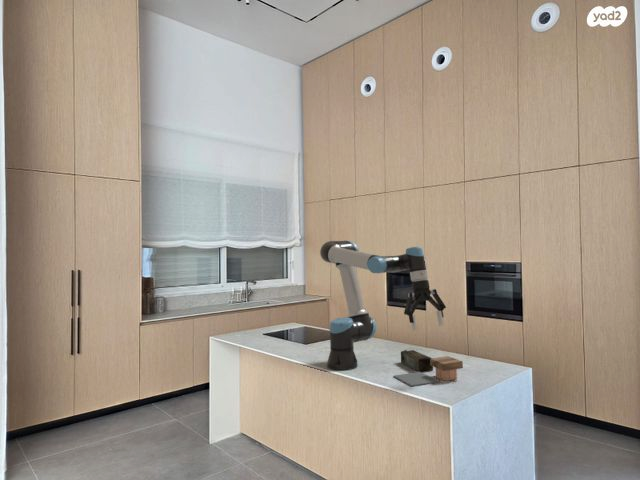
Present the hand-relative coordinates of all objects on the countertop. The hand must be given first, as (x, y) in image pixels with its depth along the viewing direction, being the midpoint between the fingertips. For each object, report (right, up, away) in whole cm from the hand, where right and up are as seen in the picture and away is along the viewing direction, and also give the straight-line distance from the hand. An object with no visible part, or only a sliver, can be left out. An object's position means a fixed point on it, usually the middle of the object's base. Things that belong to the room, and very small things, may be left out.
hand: (428, 327), depth 190 cm
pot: (+8, -22, +1) cm, 24 cm away
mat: (-6, -23, -1) cm, 24 cm away
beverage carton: (-1, -24, +20) cm, 31 cm away
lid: (+8, -18, +1) cm, 19 cm away
